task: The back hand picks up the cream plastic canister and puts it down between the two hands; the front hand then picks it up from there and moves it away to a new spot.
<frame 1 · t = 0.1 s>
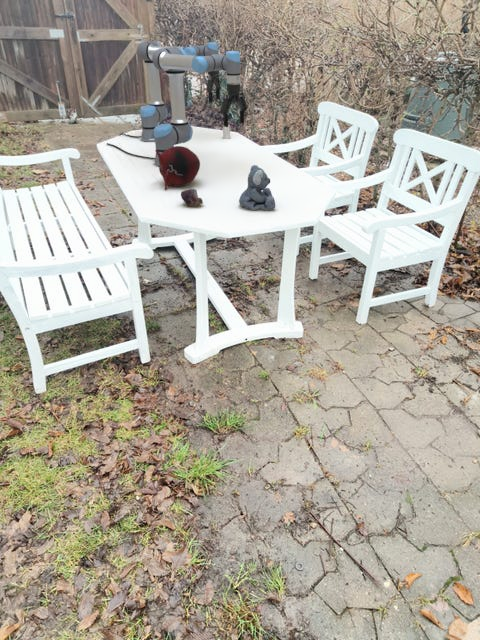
front hand: (234, 125, 259), 28 cm above the table, tool pointing down, fingers open, 13 cm apart
back hand: (214, 100, 331), 28 cm above the table, tool pointing down, fingers open, 13 cm apart
koala plush: (256, 206, 229), on the table
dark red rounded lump: (180, 183, 261), on the table
canister: (226, 138, 353), on the table
rock: (191, 204, 231), on the table
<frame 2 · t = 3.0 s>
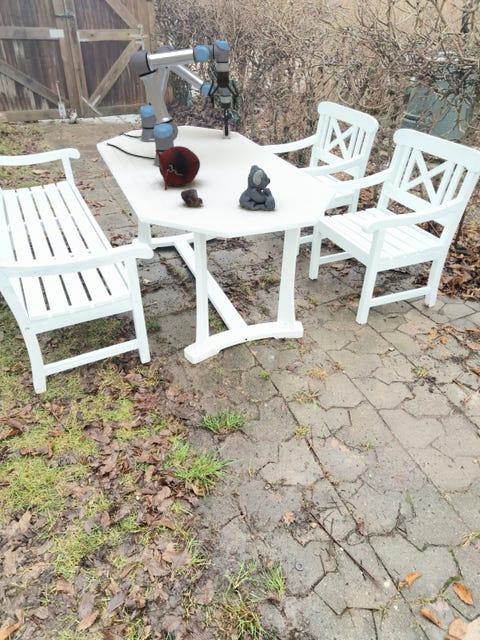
front hand: (223, 108, 286), 31 cm above the table, tool pointing down, fingers open, 13 cm apart
back hand: (226, 134, 352), 2 cm above the table, tool pointing down, fingers closed on canister, 5 cm apart
canister: (226, 138, 353), on the table, touching back hand
everything else where it was.
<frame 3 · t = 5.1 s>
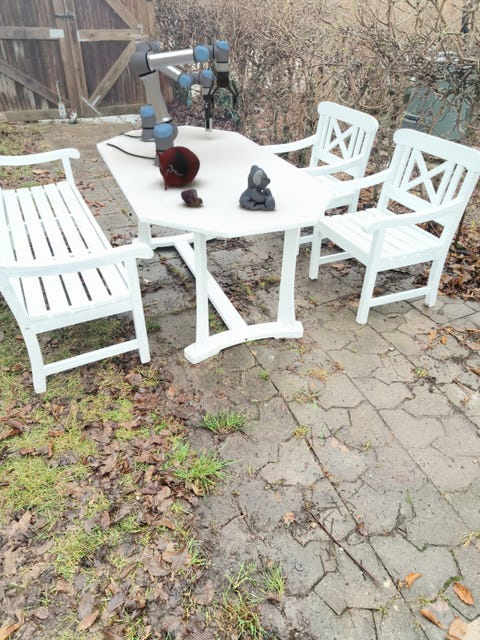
front hand: (223, 108, 286), 31 cm above the table, tool pointing down, fingers open, 13 cm apart
back hand: (208, 127, 343), 9 cm above the table, tool pointing down, fingers closed on canister, 5 cm apart
canister: (208, 131, 345), point 6 cm above the table, touching back hand
everything else where it was.
when the back hand's fingers open (4 cm above the table, at t = 7.6 s): canister drops 1 cm, on the table.
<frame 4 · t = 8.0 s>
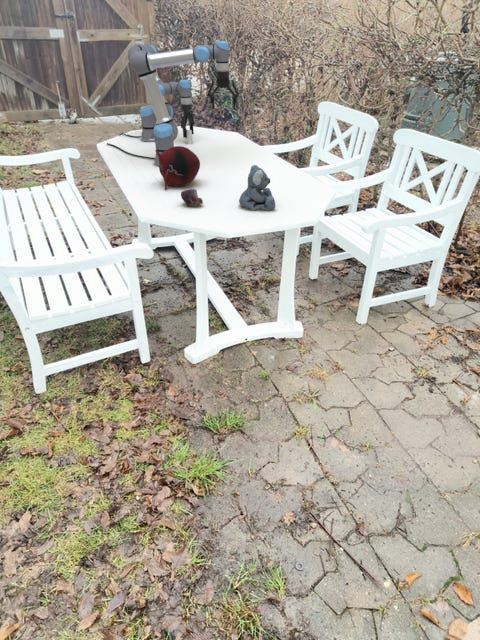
front hand: (223, 108, 286), 31 cm above the table, tool pointing down, fingers open, 13 cm apart
back hand: (188, 135, 338), 5 cm above the table, tool pointing down, fingers open, 11 cm apart
canister: (189, 142, 341), on the table
everything else where it was.
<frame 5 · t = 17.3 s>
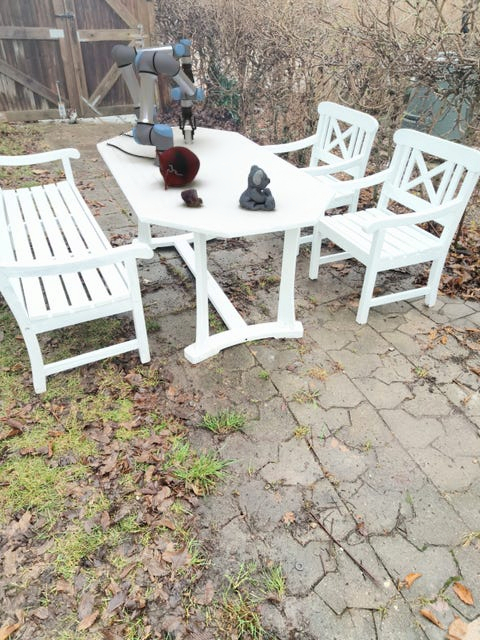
front hand: (188, 139, 340), 2 cm above the table, tool pointing down, fingers closed on canister, 5 cm apart
back hand: (188, 93, 357), 28 cm above the table, tool pointing down, fingers open, 13 cm apart
canister: (189, 142, 341), on the table, touching front hand
everything else where it was.
when the front hand's fingers open (4 cm above the table, at t = 24.7 s): canister drops 1 cm, on the table.
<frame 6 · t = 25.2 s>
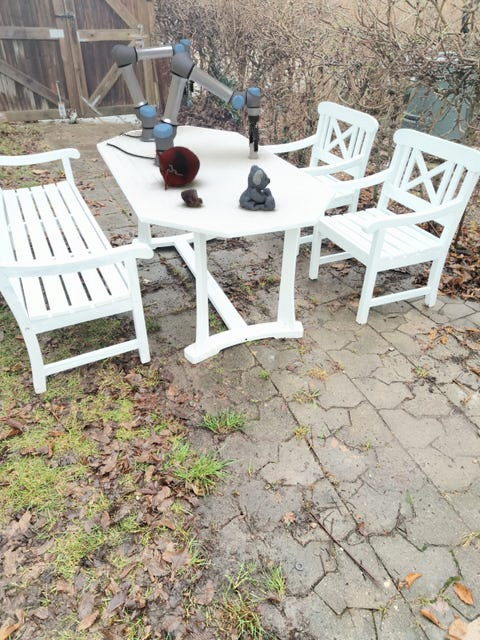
front hand: (253, 149, 302), 6 cm above the table, tool pointing down, fingers open, 12 cm apart
back hand: (188, 93, 357), 28 cm above the table, tool pointing down, fingers open, 13 cm apart
canister: (253, 157, 305), on the table
everything else where it was.
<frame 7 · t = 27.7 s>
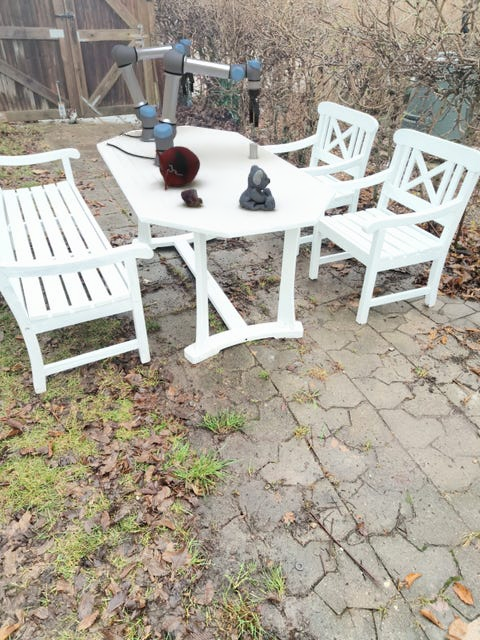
front hand: (253, 124, 294), 21 cm above the table, tool pointing down, fingers open, 13 cm apart
back hand: (188, 93, 357), 28 cm above the table, tool pointing down, fingers open, 13 cm apart
nothing on the table moved.
at the end: canister inside the target area (0.0 cm from its centre), on the table; canister tilted 0°; the two hands never held the canister at the same time; the front hand is holding nothing; the back hand is holding nothing; canister at rest at the end (0.0 cm/s) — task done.
